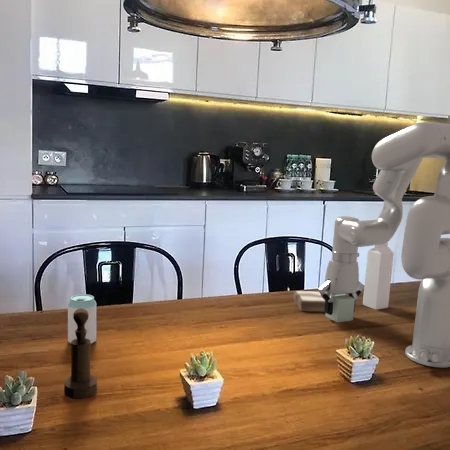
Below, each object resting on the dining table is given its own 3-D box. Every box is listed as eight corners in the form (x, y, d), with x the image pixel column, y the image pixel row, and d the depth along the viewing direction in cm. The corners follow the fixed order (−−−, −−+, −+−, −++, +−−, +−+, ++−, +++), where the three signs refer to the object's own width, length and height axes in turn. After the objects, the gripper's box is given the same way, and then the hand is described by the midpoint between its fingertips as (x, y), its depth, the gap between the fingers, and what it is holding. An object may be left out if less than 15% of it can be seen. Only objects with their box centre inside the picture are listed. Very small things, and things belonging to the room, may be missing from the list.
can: (99, 344, 136) (100, 299, 134) (72, 349, 133) (72, 303, 130) (91, 335, 142) (91, 292, 140) (64, 339, 138) (64, 295, 136)
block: (352, 320, 164) (354, 298, 163) (337, 322, 162) (338, 300, 161) (340, 314, 170) (342, 293, 169) (325, 316, 167) (327, 294, 166)
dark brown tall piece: (84, 381, 116) (85, 302, 113) (103, 391, 112) (104, 309, 109) (58, 391, 111) (57, 309, 108) (76, 402, 107) (76, 317, 104)
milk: (362, 304, 181) (367, 241, 177) (374, 302, 184) (380, 239, 180) (376, 310, 175) (382, 244, 172) (388, 307, 179) (394, 243, 175)
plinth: (337, 311, 172) (338, 302, 171) (301, 311, 170) (301, 301, 170) (327, 300, 183) (327, 291, 183) (292, 299, 182) (293, 290, 182)
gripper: (359, 253, 170) (354, 305, 172) (313, 255, 162) (309, 311, 165) (375, 258, 163) (369, 313, 166) (328, 261, 155) (323, 319, 158)
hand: (339, 311), depth 165 cm, fingers open, 7 cm apart
